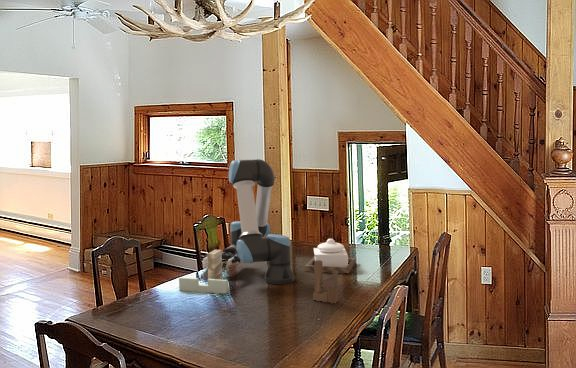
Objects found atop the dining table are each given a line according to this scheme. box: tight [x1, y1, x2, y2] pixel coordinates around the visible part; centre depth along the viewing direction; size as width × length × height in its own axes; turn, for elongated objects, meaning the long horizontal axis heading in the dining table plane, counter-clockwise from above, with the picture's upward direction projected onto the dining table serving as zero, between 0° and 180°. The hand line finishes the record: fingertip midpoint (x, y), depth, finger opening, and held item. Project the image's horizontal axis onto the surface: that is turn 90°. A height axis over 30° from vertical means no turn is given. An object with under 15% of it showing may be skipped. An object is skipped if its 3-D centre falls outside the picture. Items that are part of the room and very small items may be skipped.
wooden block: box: [312, 260, 339, 304], centre depth 260 cm, size 4×11×18 cm, turn 61°
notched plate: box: [206, 249, 223, 280], centre depth 293 cm, size 4×10×16 cm, turn 165°
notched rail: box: [178, 276, 229, 294], centre depth 279 cm, size 24×2×6 cm, turn 75°
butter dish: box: [313, 238, 349, 267], centre depth 323 cm, size 18×18×16 cm
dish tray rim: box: [304, 255, 357, 274], centre depth 324 cm, size 24×24×3 cm
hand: (216, 262), depth 296 cm, fingers open, 13 cm apart
